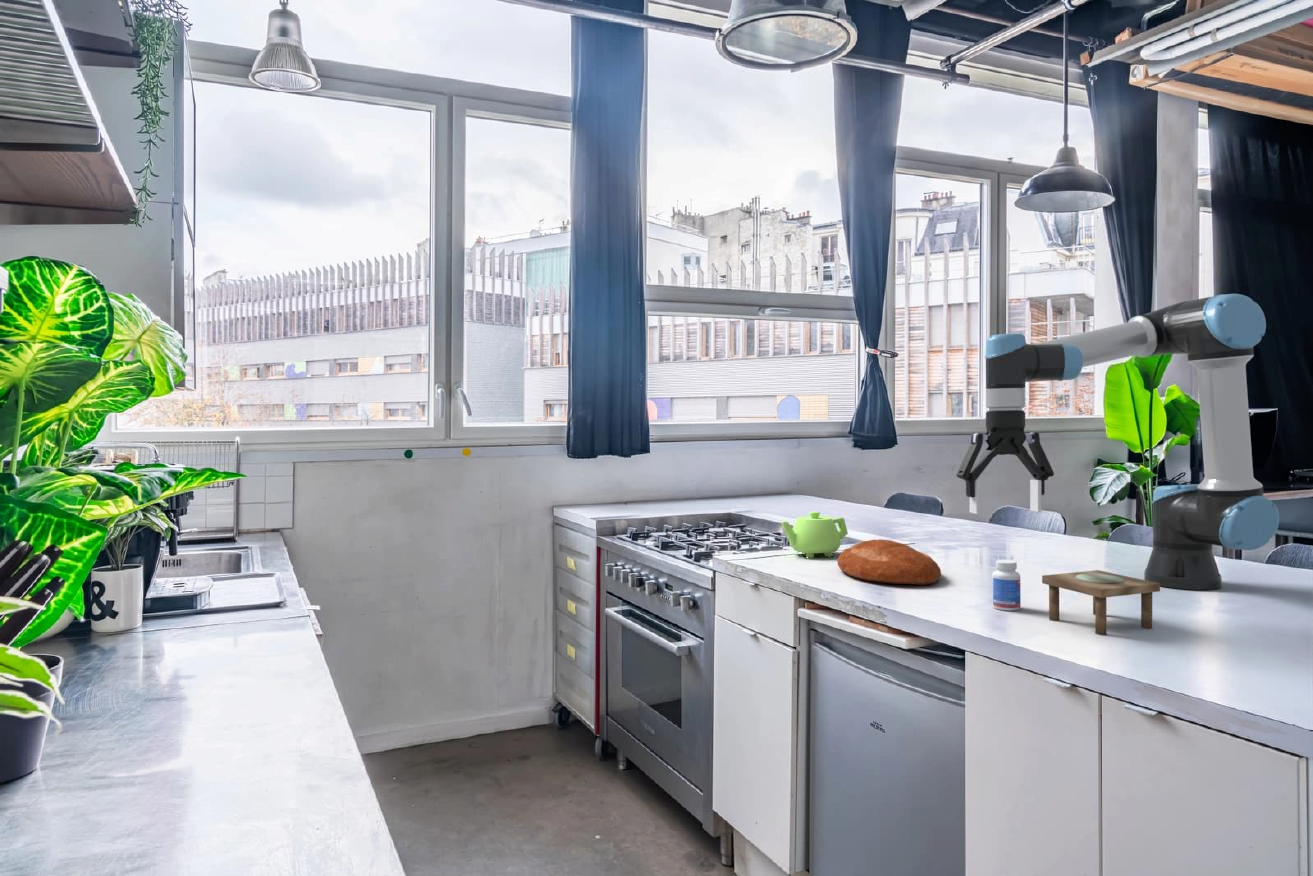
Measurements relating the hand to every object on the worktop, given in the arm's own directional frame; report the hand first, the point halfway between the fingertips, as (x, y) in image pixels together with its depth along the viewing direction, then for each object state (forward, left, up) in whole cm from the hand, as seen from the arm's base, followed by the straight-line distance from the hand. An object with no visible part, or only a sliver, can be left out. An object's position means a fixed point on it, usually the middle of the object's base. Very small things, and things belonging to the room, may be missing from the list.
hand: (1005, 512), depth 169 cm
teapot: (+17, -70, -20) cm, 75 cm away
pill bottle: (0, 0, -20) cm, 20 cm away
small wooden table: (-10, +15, -20) cm, 27 cm away
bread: (+9, -38, -21) cm, 44 cm away
